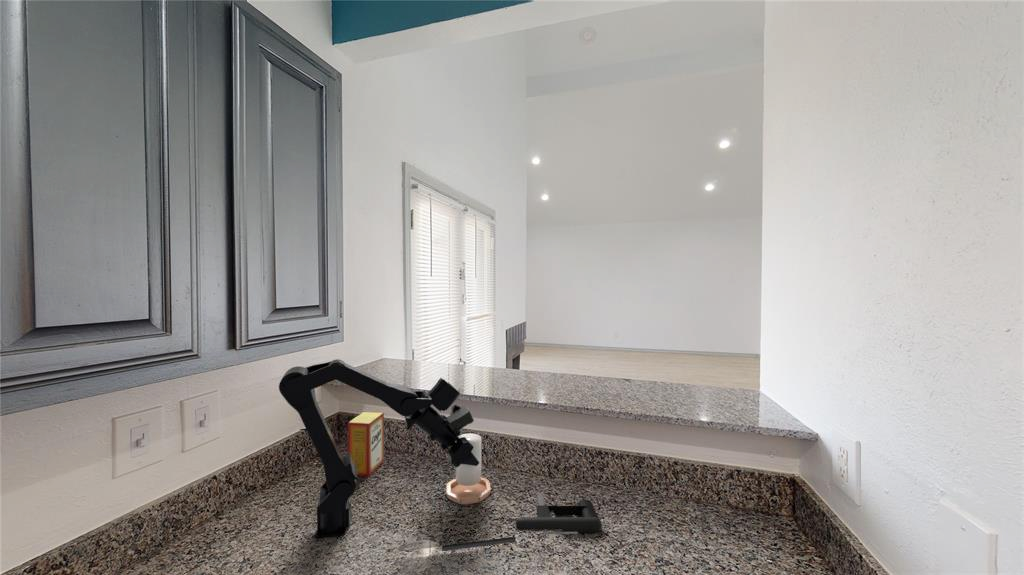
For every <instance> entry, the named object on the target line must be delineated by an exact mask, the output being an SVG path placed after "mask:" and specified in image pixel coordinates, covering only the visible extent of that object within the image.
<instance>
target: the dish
mask: <svg viewBox="0 0 1024 575" xmlns="http://www.w3.org/2000/svg"><path fill="white" fill-rule="evenodd" d="M491 491H492V488H491V484H490V481H489V479H487V478H485V477H482V476H481V481H480V482H479V483H477V484H475V485H471V486H463V485H460V484H458V483H457V482H456V477H455V478H453V479H452V480H451V481H449V482H446V490H445V495H446V498H447V499H449V500H450V501H451V502H454V503H456V504H459V505H460V504H461V505H463V504H465V505H467V504H474V503H475V504H476V503H480V502H481V501H483V500H485V499H487V497H488V496H490V495H491V493H492V492H491Z"/></svg>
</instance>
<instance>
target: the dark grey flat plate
mask: <svg viewBox="0 0 1024 575" xmlns="http://www.w3.org/2000/svg"><path fill="white" fill-rule="evenodd" d="M514 542H516V537H515V536H510V537H500V538H493V539H485V540H484V539H483V540H478V541H476V540H475V541H470V542H462V543H454V544H446V545H442V546H441V552H446V551H453V550H460V549H461V550H463V549H468V548H477V547H485V546H491V545H492V546H493V545H500V544H509V543H514Z"/></svg>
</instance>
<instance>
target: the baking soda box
mask: <svg viewBox="0 0 1024 575" xmlns="http://www.w3.org/2000/svg"><path fill="white" fill-rule="evenodd" d="M384 421H385V416H384V412H380V411H379V412H378V411H363V412H362V413H360V414H359V415H357V416H356V417H354V418H353V419H351V420H349V422H347V455H348V454H349V453H351V457H352V461H353V463H354V464H355V465H357V475H361V476H360V477H370V476H371V475H372V474H373V473H374V472H375V471H376V470H377V469H378V468H379V466H380V465H381V464H382V463H384V461H385V448H384V447H385V445H384V443H385V442H384V441H385V440H384V439H385V438H384V436H385V433H384V432H385V430H384V429H385V426H384V425H385V422H384ZM370 474H371V475H370Z"/></svg>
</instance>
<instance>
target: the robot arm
mask: <svg viewBox="0 0 1024 575" xmlns="http://www.w3.org/2000/svg"><path fill="white" fill-rule="evenodd" d="M333 381H338V382H340V383H343V384H345V385H347V386H349V387H351V388H354V389H356V390H358V391H361V392H363V393H365V394H366V395H370V396H372V397H374V398H376V399H379V400H380V401H382V402H384V404H385V405H387V406H388V407H389V408H390V409H392V410H393V411H394V412H396V413H398V414H399V415H400V416H402V417H404V419H405V422H404V426H405V428H406V430H407V431H410V430H411V429H412V427H413V426H414V425H415V426H416V427H417V428H418V429H420V430H421V431H422V432H423V433H424V434H426V435H427V436H428V437H429V440H430V441H432V442H436V444H438V445H439V446H440V449H442V450H443V451H445V450H446V449H447V448H448V449H449V450H448V452H447V458H448V461H449V462H450V464H452V466H454V467H455V469H456V468H457V467H459V466H460V464H466V465H473V466H477V465H478V464H479V461H478V460H477V459H476V457H475V456H474V455H473V453H472V452H471V451H472V450H473V447H474V446H473V445H472V444H471V443H470V441H468V440H467V439H466V438H465V437H462V438H459V437H458V436H460V435H461V433H462V432H461V430H462V429H463V428H465V427H466V426H468V425H471V424H472V423H474V418H473V415H472V413H471V411H470V409H469V408H468V407H467V406H464V405H461V406H460V405H458V404H453V403H455V402H456V400H457V399H458V398H459V397H460V395H462V394H461V392H459V391H458V390H457V389H456V388H455V387H454V385H452V383H450V382H448V381H447V380H445V379H444V378H443V377H440V378H439V379H438V380H437V382H436V383H435V384H434V386H433V387H432V388H430V391H426V390H415V389H413V388H411V387H408V386H405V385H401V384H398V383H390V382H386V381H385V380H382V379H380V378H378V377H375V376H374V375H371V374H369V373H368V372H365V371H363V370H361V369H359V368H356V367H354V366H352V365H351V364H348V363H346V362H345V361H343V360H342V359H339V358H338V359H333V360H331V361H328V362H322V363H318V364H317V363H316V364H313V365H310V366H306V367H304V366H299V365H298V366H293V367H291V368H289V369H288V370H286V372H285V373H284V375H283V376H282V377H281V379H280V381H279V384H278V390H279V392H280V394H281V396H282V397H283V399H284V400H285V401H286V402H287V403H288V405H289V406H290V407H291V408H293V409H294V410H295V411H296V412H297V414H298V416H300V419H301V422H302V423H303V425H304V427H305V429H306V432H307V434H308V436H309V438H310V440H311V443H312V444H313V447H314V449H315V451H316V453H317V455H318V457H319V459H320V461H321V463H322V465H323V471H324V477H325V482H323V484H322V485H321V486H320V488H319V495H318V496H319V498H318V504H317V506H316V531H315V534H314V538H315V539H320V538H327V537H337V536H338V537H339V536H344V535H345V534H346V533H347V529H348V528H349V527H350V525H351V523H352V522H351V521H352V517H353V515H352V513H353V511H352V510H353V509H352V508H353V507H352V503H351V502H350V498H351V497H352V495H353V494H355V491H356V488H357V480H358V477H359V476H357V465H355V464H354V463H353V461H352V457H351V453H349V454H348V453H347V455H344V454H343V453H342V452H341V451H340V449H339V447H338V445H337V443H336V441H335V438H334V436H333V433H332V431H331V430H330V427H329V426H328V424H327V421H326V419H325V416H324V414H323V413H322V410H321V408H320V406H319V404H318V402H317V398H316V392H315V389H316V388H319V387H321V386H324V385H326V384H328V383H331V382H333ZM432 406H433V407H435V409H436V410H435V409H434V408H433V407H432ZM450 407H451V412H449V415H448V416H446V415H445V414H440V413H439V412H445V411H447V410H448V409H449V408H450ZM437 410H438V411H439V412H438V411H437ZM456 441H457V442H456Z"/></svg>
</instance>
